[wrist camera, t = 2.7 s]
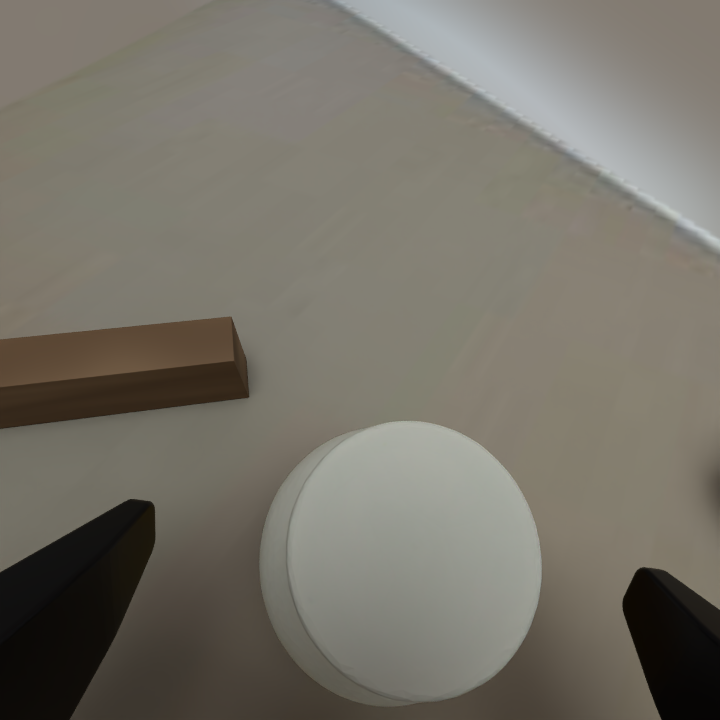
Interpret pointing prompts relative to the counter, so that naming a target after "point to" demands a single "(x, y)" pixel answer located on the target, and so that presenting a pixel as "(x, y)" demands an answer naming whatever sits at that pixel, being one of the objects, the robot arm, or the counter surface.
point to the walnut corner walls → (120, 371)
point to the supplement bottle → (400, 564)
